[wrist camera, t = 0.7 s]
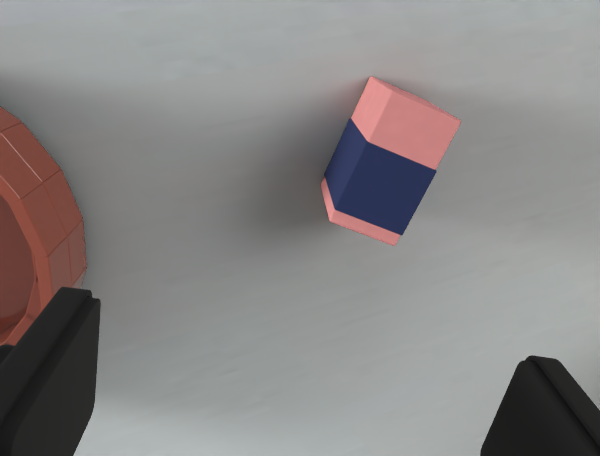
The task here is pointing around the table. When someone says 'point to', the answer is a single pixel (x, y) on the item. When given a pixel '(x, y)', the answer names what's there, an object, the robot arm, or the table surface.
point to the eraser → (385, 161)
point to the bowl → (34, 230)
